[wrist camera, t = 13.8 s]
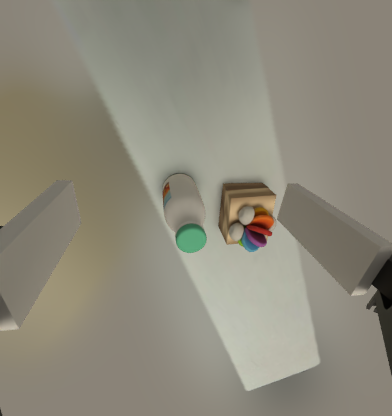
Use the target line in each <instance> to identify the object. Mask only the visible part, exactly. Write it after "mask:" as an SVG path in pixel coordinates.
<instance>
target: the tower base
mask: <svg viewBox="0 0 392 416" xmlns="http://www.w3.org/2000/svg"><path fill="white" fill-rule="evenodd" d="M257 188H268V187H267V186H266V185H264V184H263V183H228V184H223V190H222V199H221V208H220V216H219V225H218V226H219V229H220V231H221V233H222V232H223V218H224V205H225V192H226V191H228V190H243V189H257Z"/></svg>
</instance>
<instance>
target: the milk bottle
mask: <svg viewBox="0 0 392 416" xmlns="http://www.w3.org/2000/svg"><path fill="white" fill-rule="evenodd" d="M163 207H164V215H165V219H166V222H167V224H168V226H169V227H170V228H171V229H172V230H173V231H174V232H175V237H176V244H177V246H178V248H179V249H180V250H182V251H183V252H187V253H193V252H197V251H199V250H200V249H202V248H203V247H204V245H205V243H206V234H205V231H204V228H203V223H204V221H205V207H204V204H203V201H202V198H201V196H200V194H199V191H198V189H197V186H196V184H195V182H194V181H193V179H192V178H191V177H189V176H188V175H185V174H175V175H172V176H170V177H169V178H168V179H167V180H166V181H165V182H164V185H163Z"/></svg>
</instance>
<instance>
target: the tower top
mask: <svg viewBox="0 0 392 416" xmlns="http://www.w3.org/2000/svg"><path fill="white" fill-rule="evenodd" d="M275 199H276V194H274V193H273V192H272V191H271V190H270V189H269V188H257V189H243V190H228V191H226V192H225V205H224V218H223V232H222V235H223V237H224V239H225V242H226V244H237V243H238V241H234V240H233V239H231V237H230V235H229V229H230V227H231V226H232V225H233V224H235V223H241V222H240V220H239V217H238V215H239V212H240V210H241V209H242V208H243V207H246V206H251V207H253V208H254V209H255V208H258V207H263V208H265V209H266V210H267V211H268V213H269V214H270V215H272V214H273V209H274V204H275ZM241 224H242V223H241ZM242 225H243V226H247V225H244V224H242ZM267 238H268V236H267V235H266V240H267Z"/></svg>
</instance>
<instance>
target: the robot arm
mask: <svg viewBox="0 0 392 416" xmlns="http://www.w3.org/2000/svg"><path fill="white" fill-rule="evenodd" d="M277 220H278V221H279V222H280V223H281V224H282V225H283V226H284V227H285V228H286V229H287V230H288V231H289V232H290V233H291V234H292V235H293V236H294V237H295V238H296V239H297V240H298V241H299V243H301V245H302V246H303V247H304V248H305V249H307V251H308V252H309V253H310V254H311V255H312V256H313V257H314V258H315V259H316V260H317V261H318V262H319V263H320V264H321V265H322V266H323V267H324V268H325V269H326V270H327V272H328V273H329V274H330V275H331V276H332V277H333V278H334V279H335V280H336V281H337V282H338V283H339V284H340V285H341V286H342V287H343V288H344V289H345V290H346V291H347V292H348V293H349V294H350V295H351V296H353V295H362V294H366V292H367V290H368V289H369V288H370V286H371V285H373V286H374V287H376V288H377V289H378V290H377V292H376V293H375V294H374V296H373V297H372V299H371V300H370V301H369V303H368V304H367V309H370V308H371V307H372V306H376V308H375V310H374V312H376V313H378V316H379V321H380V325H381V330H382V334H383V339H384V343H385V347H386V352H387V357H388V361H389V366H390V370H391V375H392V243H391V242H389V241H388V240H386V239H385V238H383V237H381V236H380V235H378V234H376V233H375V232H373V231H372V230H370V229H369V228H367V227H365V226H364V225H362V224H361V223H359V222H358V221H356V220H355V219H353V218H351V217H350V216H348V215H347V214H345V213H343V212H342V211H340V210H339V209H337V208H336V207H334V206H332V205H331V204H329V203H328V202H326V201H325V200H323V199H321V198H320V197H318V196H317V195H315V194H313V193H312V192H310V191H309V190H307V189H306V188H304V187H302V186H301V185H299V184H287V188H286V191H285V194H284V197H283V201H282V204H281V207H280V211H279V214H278V217H277ZM80 224H81V219H80V214H79V210H78V205H77V200H76V196H75V191H74V187H73V182H72V181H65V180H57V181H56V182H55V183H53V184H52V185H51V186H50V187H49V188H47V189H46V190H45V191H44V192H43V193H42V194H41V195H39V196H38V197H37V198H36V199H35V200H34V201H32V202H31V203H30V204H29V205H28V206H27V207H25V208H24V209H23V210H22V211H21V212H20V213H18V214H17V215H16V216H15V217H14V218H13V219H11V220H10V221H9V222H8V223H7V224H6V225H5V226H0V331H3V330H14V329H19V328H20V327H21V325H22V323H23V321H24V320H25V318H26V316H27V315H28V313H29V311H30V309H31V308H32V306H33V304H34V303H35V301H36V299H37V298H38V296H39V294H40V292H41V290H42V289H43V287H44V286H45V284H46V282H47V281H48V279H49V277H50V275H51V274H52V272H53V270H54V269H55V267H56V265H57V264H58V262H59V260H60V258H61V257H62V255H63V253H64V252H65V250H66V248H67V246H68V245H69V243H70V241H71V240H72V238H73V236H74V235H75V233H76V231H77V229H78V228H79V225H80ZM0 416H2V413H1V410H0Z"/></svg>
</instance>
